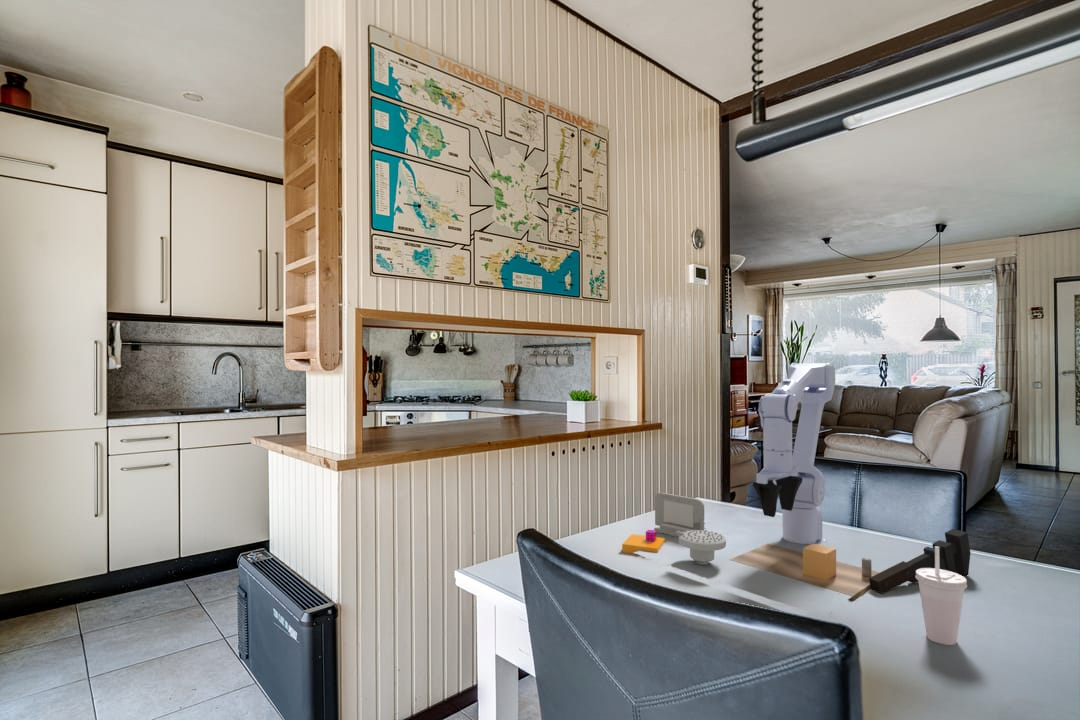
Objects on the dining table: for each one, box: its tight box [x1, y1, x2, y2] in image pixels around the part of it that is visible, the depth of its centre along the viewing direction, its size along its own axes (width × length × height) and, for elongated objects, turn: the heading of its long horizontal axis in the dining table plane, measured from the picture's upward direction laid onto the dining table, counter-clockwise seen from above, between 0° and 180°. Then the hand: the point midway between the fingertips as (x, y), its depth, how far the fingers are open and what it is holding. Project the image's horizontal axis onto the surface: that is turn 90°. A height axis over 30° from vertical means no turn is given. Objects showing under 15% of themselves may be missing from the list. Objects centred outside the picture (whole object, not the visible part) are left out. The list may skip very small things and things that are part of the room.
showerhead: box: [676, 529, 727, 565], centre depth 114 cm, size 9×7×10 cm
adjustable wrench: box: [869, 528, 971, 595], centre depth 106 cm, size 8×3×25 cm
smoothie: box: [916, 546, 968, 646], centre depth 84 cm, size 6×6×14 cm
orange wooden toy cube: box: [802, 543, 837, 580], centre depth 108 cm, size 4×4×5 cm
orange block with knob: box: [621, 529, 666, 555], centre depth 126 cm, size 8×8×4 cm
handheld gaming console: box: [653, 492, 707, 538], centre depth 138 cm, size 13×9×10 cm
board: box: [729, 543, 880, 602], centre depth 112 cm, size 16×24×4 cm, turn 40°
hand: (778, 512), depth 119 cm, fingers open, 7 cm apart
